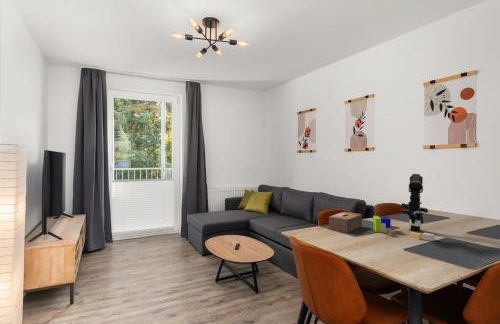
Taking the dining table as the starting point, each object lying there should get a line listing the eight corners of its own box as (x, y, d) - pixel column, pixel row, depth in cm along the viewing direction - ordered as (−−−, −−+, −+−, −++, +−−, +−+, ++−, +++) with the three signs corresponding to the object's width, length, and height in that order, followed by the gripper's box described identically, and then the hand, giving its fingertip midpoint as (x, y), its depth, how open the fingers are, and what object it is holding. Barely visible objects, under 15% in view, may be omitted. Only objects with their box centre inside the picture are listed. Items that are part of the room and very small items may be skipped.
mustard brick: (409, 237, 195) (410, 232, 195) (412, 237, 197) (412, 232, 197) (419, 240, 190) (419, 234, 190) (421, 239, 192) (421, 234, 192)
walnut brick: (385, 234, 204) (385, 229, 204) (389, 234, 204) (389, 229, 204) (390, 236, 198) (390, 231, 198) (394, 236, 199) (394, 231, 198)
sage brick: (409, 224, 196) (409, 219, 195) (412, 223, 197) (412, 218, 197) (417, 226, 190) (417, 221, 190) (420, 225, 192) (420, 220, 191)
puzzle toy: (390, 232, 207) (390, 219, 207) (375, 232, 209) (375, 218, 209) (386, 229, 217) (387, 216, 217) (372, 228, 219) (372, 215, 219)
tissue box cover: (344, 223, 236) (344, 211, 236) (361, 226, 226) (361, 214, 226) (328, 229, 217) (328, 216, 217) (346, 233, 207) (347, 219, 207)
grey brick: (422, 238, 193) (422, 233, 193) (425, 237, 195) (425, 232, 195) (432, 240, 188) (432, 235, 188) (434, 240, 190) (434, 234, 190)
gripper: (413, 198, 204) (412, 219, 205) (395, 199, 197) (394, 222, 197) (428, 200, 194) (428, 223, 195) (410, 202, 186) (409, 226, 187)
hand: (414, 223), depth 194 cm, fingers closed on sage brick, 3 cm apart
